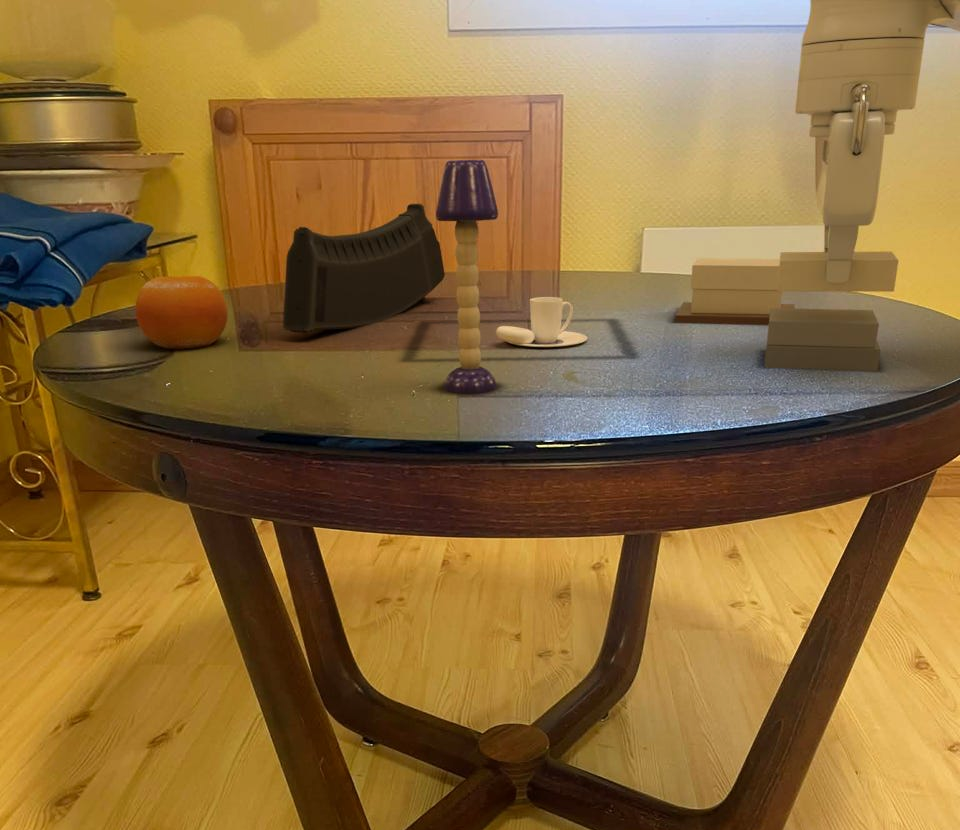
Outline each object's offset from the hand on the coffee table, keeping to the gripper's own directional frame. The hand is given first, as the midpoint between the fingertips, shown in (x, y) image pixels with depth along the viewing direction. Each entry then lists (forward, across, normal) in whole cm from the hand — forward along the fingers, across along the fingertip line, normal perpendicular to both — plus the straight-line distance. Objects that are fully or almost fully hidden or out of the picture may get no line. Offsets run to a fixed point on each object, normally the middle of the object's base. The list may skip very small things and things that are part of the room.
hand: (834, 276), depth 84 cm
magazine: (+7, +16, +48) cm, 51 cm away
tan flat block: (+1, 0, 0) cm, 1 cm away
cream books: (+7, +22, +8) cm, 25 cm away
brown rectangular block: (+7, 0, 0) cm, 7 cm away
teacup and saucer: (+7, +6, +28) cm, 30 cm away
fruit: (+6, -2, +60) cm, 61 cm away
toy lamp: (+7, -15, +28) cm, 32 cm away
